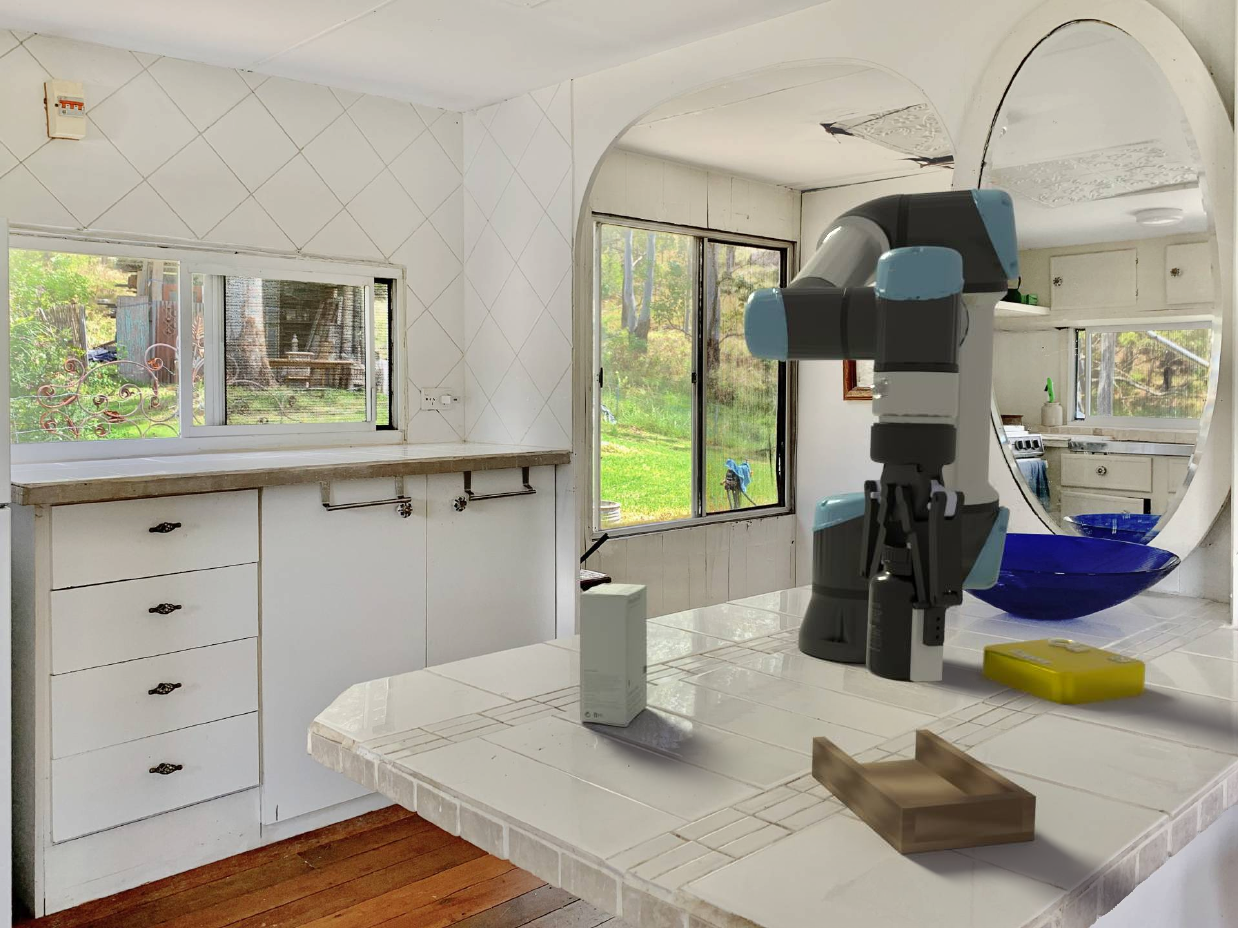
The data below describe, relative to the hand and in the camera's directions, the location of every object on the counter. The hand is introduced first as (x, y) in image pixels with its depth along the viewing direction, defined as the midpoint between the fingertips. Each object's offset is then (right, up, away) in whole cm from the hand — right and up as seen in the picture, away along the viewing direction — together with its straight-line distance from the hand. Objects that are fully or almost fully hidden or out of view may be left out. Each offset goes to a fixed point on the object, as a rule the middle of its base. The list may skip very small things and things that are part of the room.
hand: (904, 668), depth 93 cm
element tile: (+32, -11, +39) cm, 51 cm away
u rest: (+1, -12, -1) cm, 12 cm away
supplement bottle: (0, -1, 0) cm, 1 cm away
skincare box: (-27, -10, +23) cm, 37 cm away
